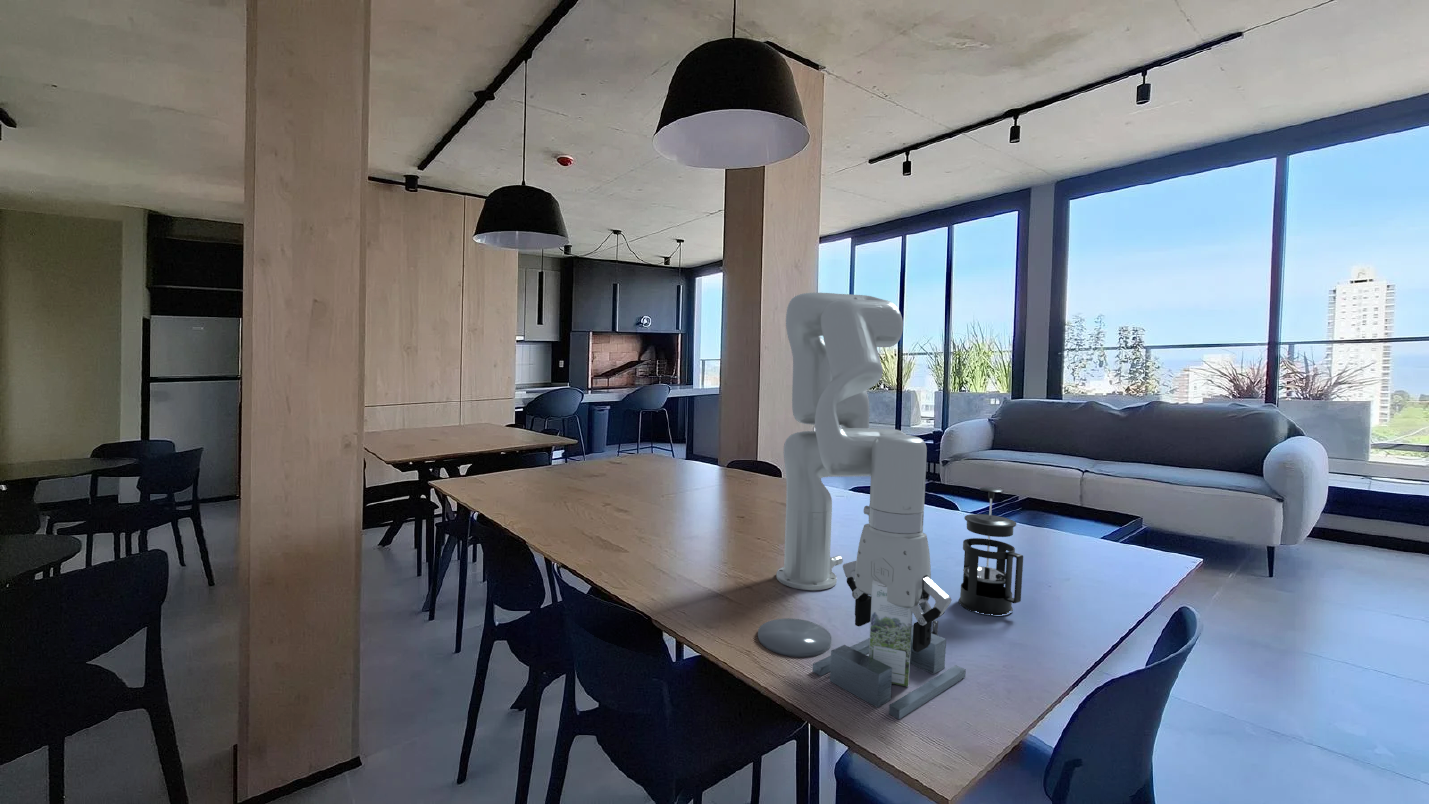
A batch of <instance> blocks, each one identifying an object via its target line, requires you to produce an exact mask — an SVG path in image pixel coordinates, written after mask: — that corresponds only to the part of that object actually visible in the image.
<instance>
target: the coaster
mask: <svg viewBox="0 0 1429 804" xmlns="http://www.w3.org/2000/svg"><path fill="white" fill-rule="evenodd" d="M757 631H758V632H757V640H758V642H759V643H760V645H762V646H763V647H764V648H765V649H767V650H769V651H771V652H774V653H776V654H779V655H782V656H788V657H794V658H807V657H816V656H819V655H822V654H824V653H826V652H827V651H828V650H830V649H831V646H832V635H831V633H830V632H829V630H827V629H826V628H825V627H823V626H822V625H820V624H817V623H815V622H814V621H813V622H812V621H809V620H804V619H799V618H790V617H789V618H788V617H787V618H775V619H772V620H768V621H766V622H764V623H762V624H761V625H760V627H758V630H757Z"/></svg>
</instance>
